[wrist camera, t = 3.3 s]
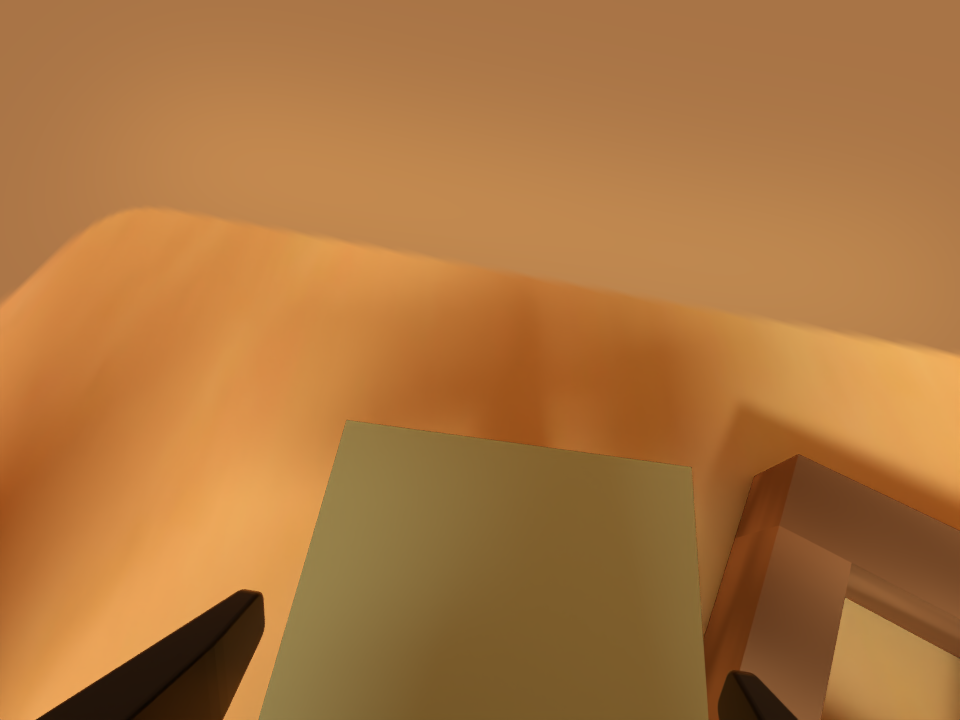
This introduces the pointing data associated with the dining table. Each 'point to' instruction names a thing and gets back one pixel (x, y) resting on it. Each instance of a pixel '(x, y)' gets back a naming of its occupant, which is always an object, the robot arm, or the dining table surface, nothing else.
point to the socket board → (824, 580)
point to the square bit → (494, 587)
